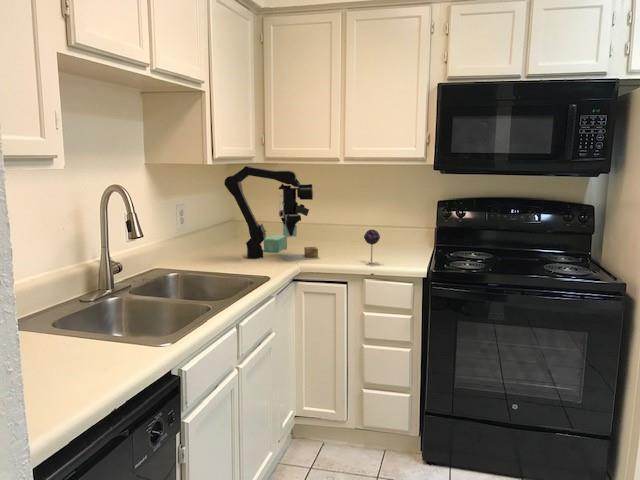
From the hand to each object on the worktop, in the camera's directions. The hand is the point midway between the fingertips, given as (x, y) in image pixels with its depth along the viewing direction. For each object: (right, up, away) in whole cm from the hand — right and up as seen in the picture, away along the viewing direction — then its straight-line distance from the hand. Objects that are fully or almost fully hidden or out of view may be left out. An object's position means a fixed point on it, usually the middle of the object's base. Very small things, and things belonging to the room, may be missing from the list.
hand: (289, 234), depth 237 cm
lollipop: (+36, -13, -5) cm, 38 cm away
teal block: (0, -1, 0) cm, 0 cm away
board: (+5, -11, +3) cm, 12 cm away
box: (-8, -8, +21) cm, 24 cm away
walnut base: (+9, -10, +4) cm, 14 cm away
